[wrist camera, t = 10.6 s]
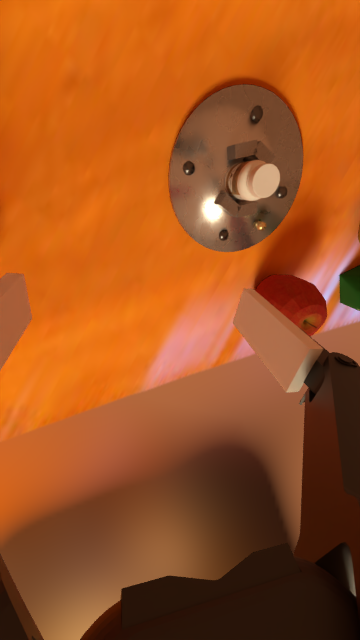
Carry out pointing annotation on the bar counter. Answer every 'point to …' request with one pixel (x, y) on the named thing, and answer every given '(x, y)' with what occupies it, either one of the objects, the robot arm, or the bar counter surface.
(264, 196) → the pill bottle
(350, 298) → the milk carton
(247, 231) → the flange plate
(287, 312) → the apple
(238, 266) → the bar counter surface
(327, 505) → the robot arm
